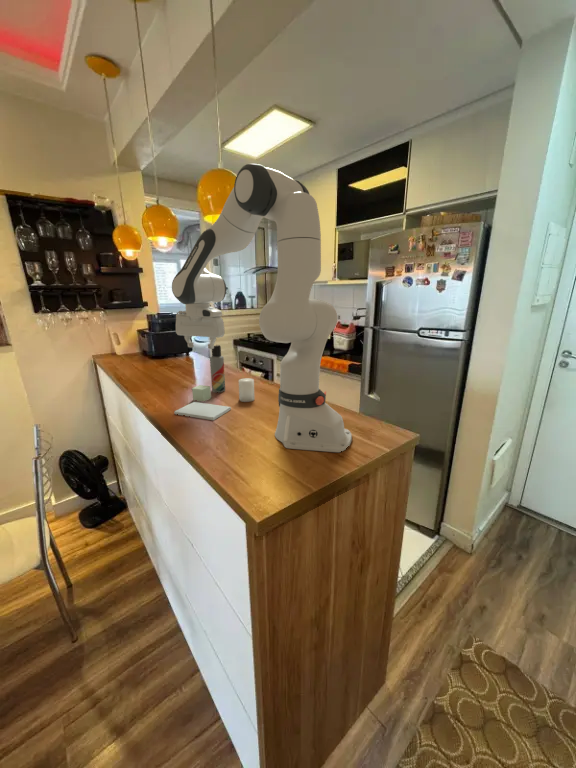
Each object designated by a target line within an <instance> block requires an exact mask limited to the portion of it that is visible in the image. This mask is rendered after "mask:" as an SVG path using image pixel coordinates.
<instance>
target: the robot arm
mask: <svg viewBox="0 0 576 768" xmlns="http://www.w3.org/2000/svg"><path fill="white" fill-rule="evenodd" d="M263 219H267V220H269V221H271V222H275V225H276V237H277V238H276V239H277V240H276V243H277V244H276V245H277V275H276V281H275V285H274V288H273V292H272V295H271V297H270V299H269V300H268V301H267V302H266V304H264V306H263V307H262V308H261V310H260V313H259V317H258V318H259V319H258V324H259V325H258V326H259V329H260V332H261V333H262V335H263V336H264V338H265V339H266V340H268V341H270V342H275V343H282V344H289V343H290V346H289V349H288V351H287V353H286V354H285V355H284V356H283V358H282V359H281V361H280V365H279V370H280V371H279V374H280V375H279V378H280V379H279V384H280V385H279V387H280V388H278V397H277V399H278V407H279V412H278V419H277V425H276V429H275V432H274V436H275V437H274V438H276V440H278V441H279V442H281V443H282V445H283V446H284V448H286V449H293V450H301V451H302V450H303V451H316V452H328V453H341V451H342V452H343V451H345V450H346V448H347V447H348V446H349V447H350V445H351V443H352V441H353V439H352V437H353V435H352V432H351V431H350V430H349V429H348V428H345V423H344V419H343V417H342V415H341V414H340V413H338V412H337V410H335V409H334V408H332V407H331V406H330V405H329V404H328V403H326V400H327V399H326V397H327V391H326V390H325V391H324V392H323V391H322V390H321V389H320V375H321V374H320V372H321V363H322V362H321V361H322V356H323V353H324V350H325V347H326V344H327V342H328V339H329V337H330V335H331V334H332V332H333V331H334V330H335V328H336V327H337V324H338V314H337V313H338V312H337V310H336V309H335V307H334V306H333V305H332V304H331V303H329V302H327V301H324V300H321V299H319V298H318V299H317V298H310V295H311V291H312V287H313V284H315V281H317V279H319V277H320V275H321V273H322V247H321V246H322V245H321V244H322V239H321V235H322V234H321V222H320V221H321V220H320V215H319V209H318V205H317V201H316V199H315V197H313V196H312V195H311V194H310V191H309V189H308V187H306V186H305V185H304V184H303V183H302V182H300V181H299V180H297V179H293V178H292V177H290V176H288V175H286V174H284V173H283V172H281V171H279V170H278V169H277V170H276V169H273V168H270V167H265V166H264V165H262V164H259V163H258V164H257V163H248V164H245V165H243V166H242V167H241V168H240V169H239V171H238V172H237V174H236V176H235V180H234V186H233V188H232V190H231V191H230V193H229V195H228V197H227V198H226V201H225V203H224V205H223V208H222V209H221V213H220V214H219V216H218V218H217V219H216V220H215V222H213V224H212V225H211V226H210V227H209V228H208V229H206V230H204V231H203V232H202V233H201V234H200V236H199V237H198V239H197V240H196V242H195V244H194V245H193V247H192V249H191V251H190V253H189V254H188V257H187V258H186V260H185V261H184V263H183V266H182V267H181V268H180V270H179V271H178V272H177V274H176V275H175V276H174V278H173V280H172V281H171V282H172V283H171V291H172V294H173V295H174V297H175V298H176V300H177V301H179V302H180V303H182V304H183V305H184V306H185V310H184V311H183V310H179V311H178V312H176V314H175V334H177V336H183V337H184V340H185V342H186V343H187V348H194V346H195V345H194V342H192V340H191V338H192V337H199V338H202V337H203V338H209V340H210V342H209V343H208V344H207V346H208V347H207V349H208V350H212V349H214V346H215V345H214V344H215V343H216V341H217V338H223V337H224V335H225V322H224V319H223V318H222V316H223V311H222V310H220V309H218V308H215V307H213V306H211V303H214V304H215V303H219V302H222V301H224V299H225V297H226V294H227V284H226V282H225V280H224V278H223V277H222V276H221V275H218V274H215V273H213V272H211V271H209V270H208V268H207V265H208V264H209V262H211V261H212V260H213V259H214V258H217V257H219V256H222V255H227V254H232V253H237V252H240V251H242V250H244V249H246V248H247V247H248V246H250V245H249V244H251V242H252V240H253V239H254V237H255V235H256V233H257V231H258V228H259V226H260V224H261V222H262V220H263ZM349 447H348V448H349ZM348 448H347V449H348Z"/></svg>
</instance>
